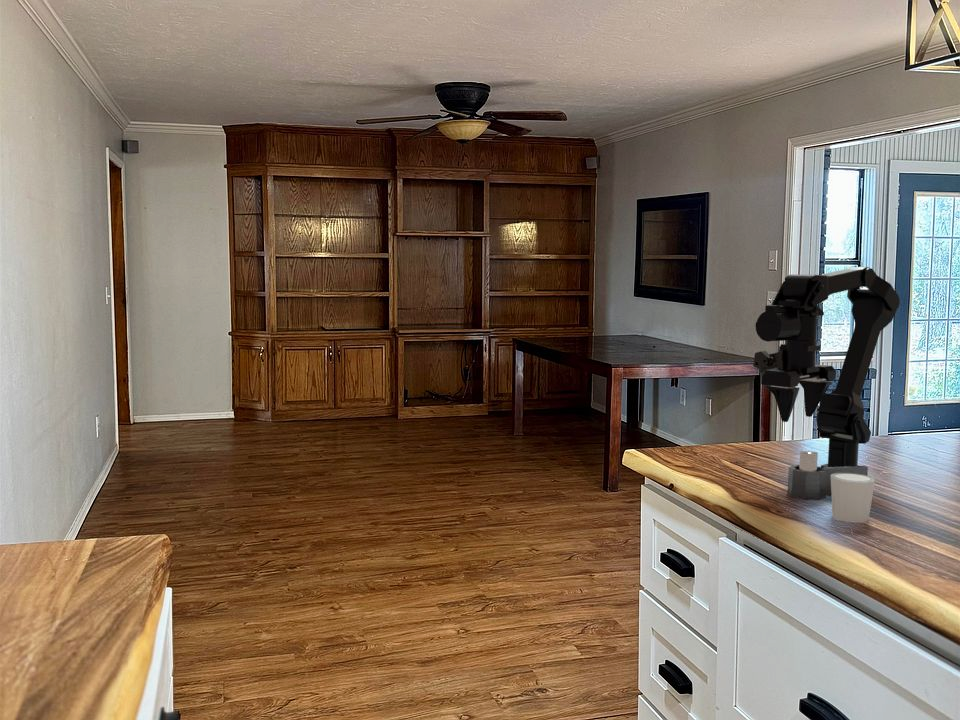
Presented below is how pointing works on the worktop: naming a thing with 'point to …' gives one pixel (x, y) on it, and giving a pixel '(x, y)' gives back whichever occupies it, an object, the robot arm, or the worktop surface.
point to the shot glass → (851, 496)
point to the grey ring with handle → (816, 481)
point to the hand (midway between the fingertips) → (796, 419)
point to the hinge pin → (808, 461)
